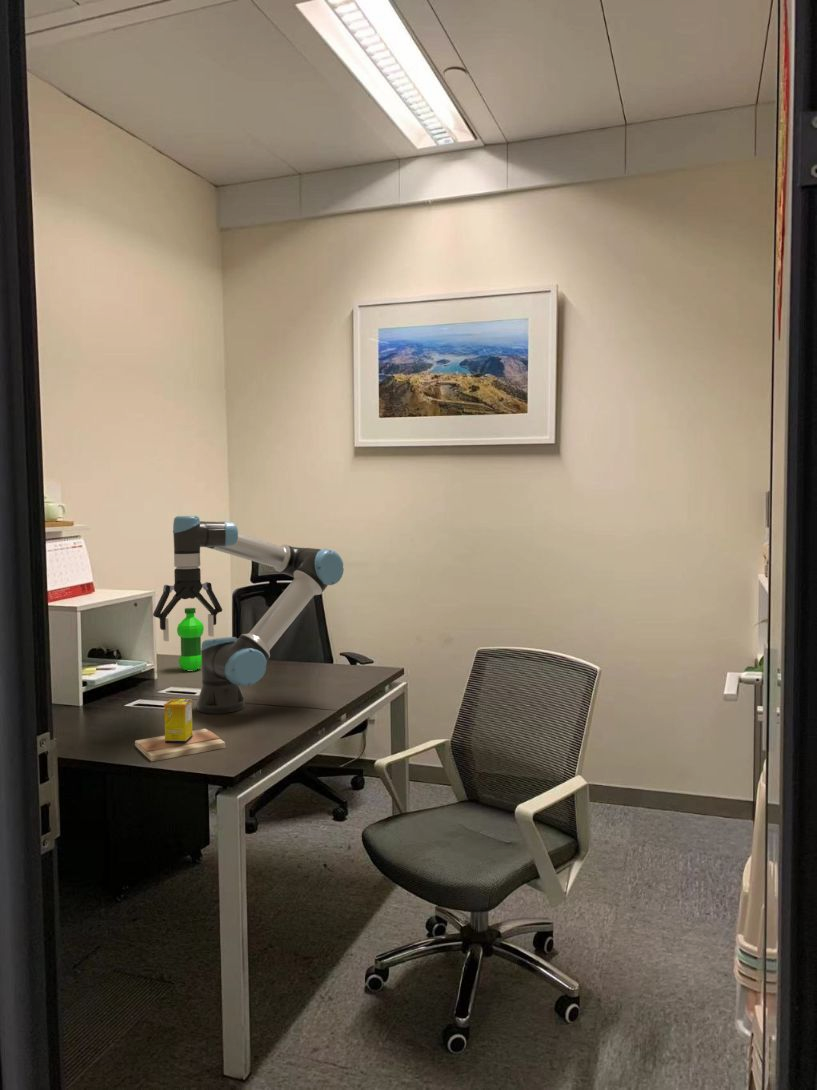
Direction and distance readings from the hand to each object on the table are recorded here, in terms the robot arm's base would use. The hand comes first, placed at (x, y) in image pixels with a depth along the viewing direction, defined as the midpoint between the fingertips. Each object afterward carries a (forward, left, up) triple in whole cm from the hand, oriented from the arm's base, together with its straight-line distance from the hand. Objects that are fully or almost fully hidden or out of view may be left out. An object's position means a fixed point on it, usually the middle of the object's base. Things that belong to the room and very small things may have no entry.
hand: (188, 638), depth 234 cm
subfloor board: (+9, +18, -27) cm, 33 cm away
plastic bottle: (-26, -78, -27) cm, 87 cm away
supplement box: (+9, +18, -25) cm, 32 cm away
